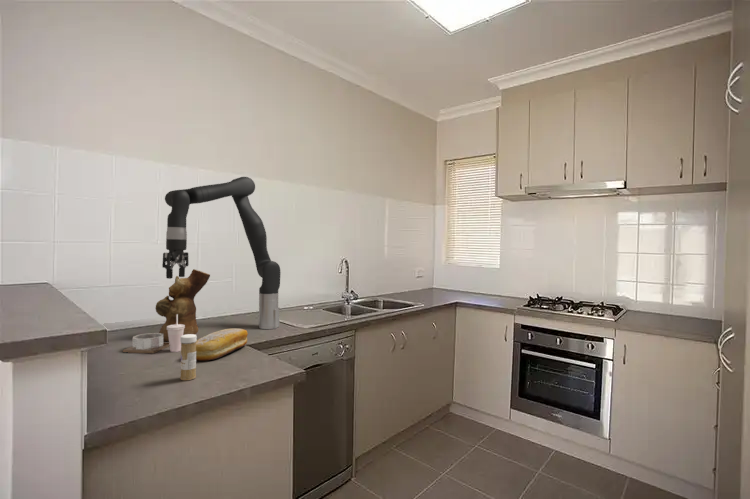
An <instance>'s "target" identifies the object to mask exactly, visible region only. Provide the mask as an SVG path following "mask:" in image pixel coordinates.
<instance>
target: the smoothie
mask: <svg viewBox="0 0 750 499" xmlns="http://www.w3.org/2000/svg"><path fill="white" fill-rule="evenodd" d="M184 328H185V325H183V324H178V314H176V324H174V325H169V326H167V330H168V337H169V342H168V343H169V345H170V346H169V351H170V352H171V353H177V352H181V342H180V338H181V336H182V335H183V332H184Z"/></svg>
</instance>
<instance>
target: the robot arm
mask: <svg viewBox="0 0 750 499" xmlns="http://www.w3.org/2000/svg"><path fill="white" fill-rule="evenodd" d="M255 190H256V183H255V182H254V180H253V179H252V178H250V177H248V176H241V177H237V178H234V179H232V180H230V181H227V182H224V183H223V182H222V183H215V184H207V185H199V186H195V187H190V188H186V189H185V188H184V189H177V190H176V189H175V190H170V191H168V192H167V193H166V194H165V196H164V201H165V203H166V205H167V206H169V207H171V212H170V213H169V214H168V215H167V221H166V222H167V224H166V234H165V235H166V238H165V239H166V240H165V242H166V243H165V245H166V246H165V249H166V250H167V251H168V252H163V253H162V268H163V269H165V270H166V272H165V276H166V277H165V278H166V279H167V280H168V279H170V280H171V279H173V273H174V272H173V271H174V269H173V268H174V267H175V265H176V264H177V265H178V277H179V278H185V276H186V275H185V274H186V273H185V272H186V268H187V267H189V265H190V264H189V263H190V262H189V252H186V250H187V242H188V241H187V239H188V234H187V233H188V232H187V231H188V230H187V216H188V214H189V209H190V205H193V204H202V203H207V202H213V201H215V200H216V201H217V200H219V199H223V198H227V197H231V198H232V200H233V201H234V204H235V206H236V209H237V211H238V215H239V217H240V219H241V224H242V226H243V230H244V232H245V235H246V238H247V241H248V244H249V246H250V248H251V251H252V254H253V259H254V262H255V267H256V271H257V274H258V275H259V277H260V278H261V280H262V282H261V285H260V287H259V289H258V291H259V292H258V328H259V329H260V330H272V329H274V330H276V329H278V328H279V327H280V307H279V289H280V286H281V268H280V264H279V263H278V262H276V261H273V260H271V257H270V254H269V252H268V247H267V246H268V245H267V244H268V242H267V240H268V239H267V238H268V237H267V232H266V228H265V225H264V222H263V220H262V218H261V217H260V215H258V213H257V211H255V209H254V208H253V207H252V204H251V202H250V199H249V196H251V195H253V194H254V192H255ZM184 251H185V252H184Z"/></svg>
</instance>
